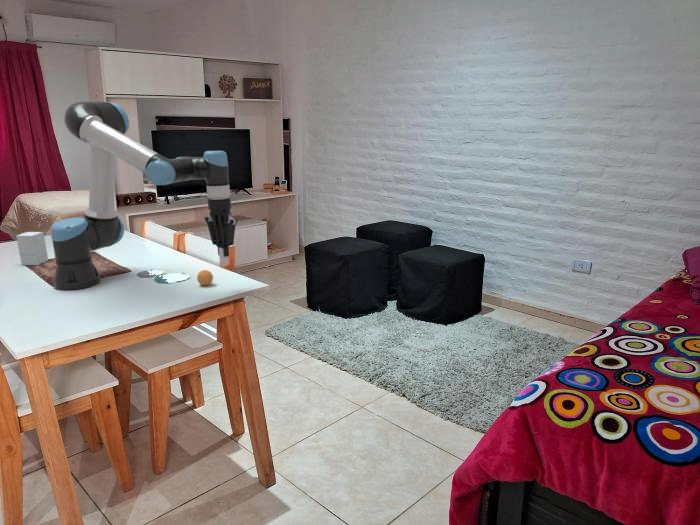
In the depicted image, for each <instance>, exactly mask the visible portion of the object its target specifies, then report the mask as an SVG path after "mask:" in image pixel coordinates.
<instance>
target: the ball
mask: <svg viewBox="0 0 700 525" xmlns="http://www.w3.org/2000/svg"><path fill="white" fill-rule="evenodd" d="M196 279H197V282H198V283H199V284H200V285H201V286H209V285H210V284H212V282H213V279H214V276H213V274H212V272H211V271H209V270H207V269H203V270H200V271H199V272H198V273H197V277H196Z"/></svg>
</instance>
